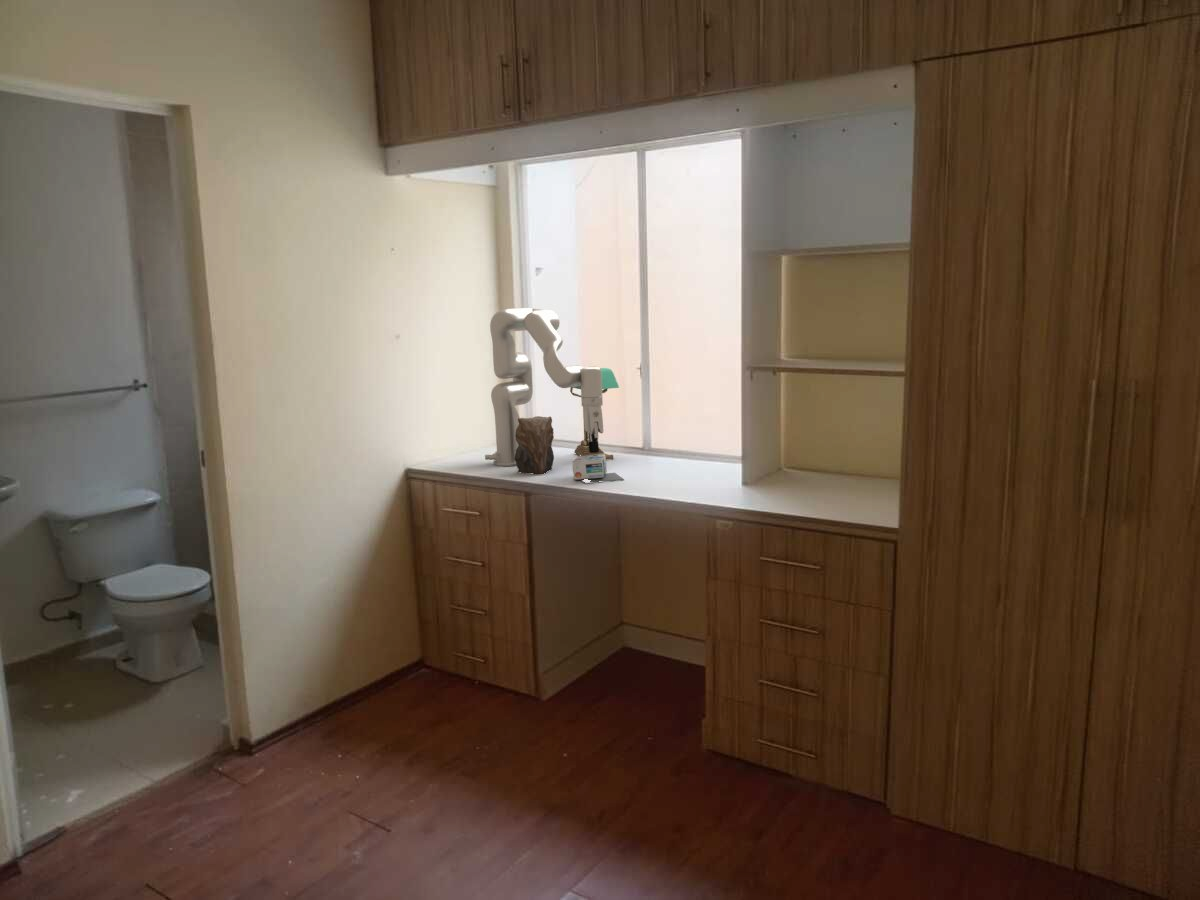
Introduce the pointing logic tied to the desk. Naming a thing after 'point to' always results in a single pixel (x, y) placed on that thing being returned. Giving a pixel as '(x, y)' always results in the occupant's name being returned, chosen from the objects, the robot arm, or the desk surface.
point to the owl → (534, 445)
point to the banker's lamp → (583, 449)
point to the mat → (606, 478)
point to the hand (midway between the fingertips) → (593, 452)
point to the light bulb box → (589, 467)
